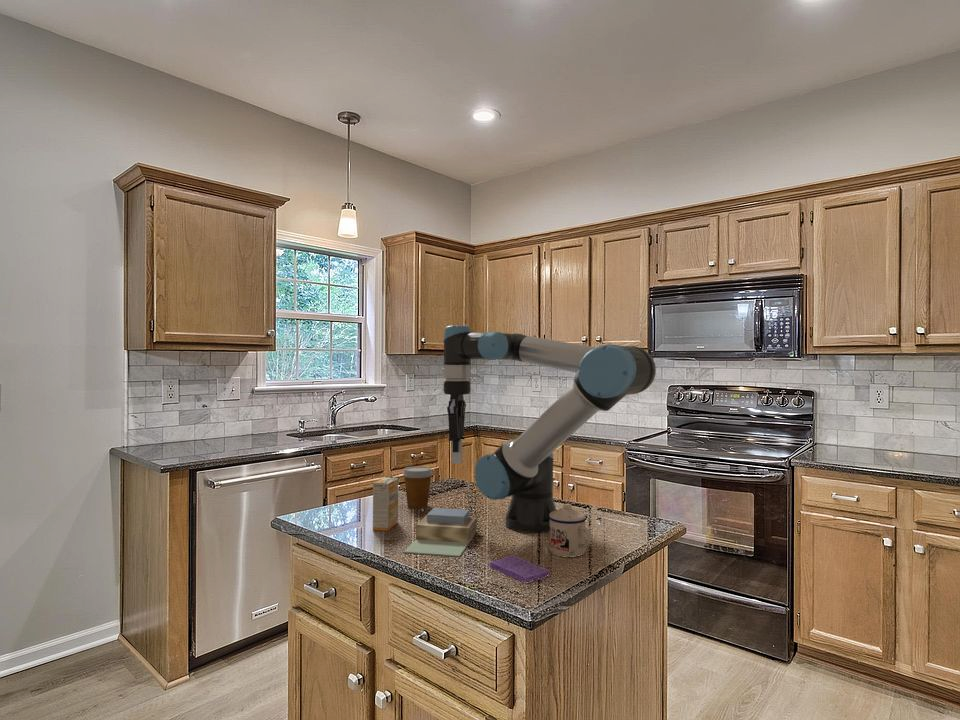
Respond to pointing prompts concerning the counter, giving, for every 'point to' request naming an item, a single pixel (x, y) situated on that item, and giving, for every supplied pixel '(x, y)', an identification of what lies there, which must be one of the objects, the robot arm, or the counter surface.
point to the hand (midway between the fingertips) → (456, 463)
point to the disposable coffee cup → (417, 486)
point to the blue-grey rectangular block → (448, 516)
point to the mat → (437, 548)
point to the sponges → (519, 568)
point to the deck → (446, 531)
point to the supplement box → (385, 503)
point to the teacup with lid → (568, 532)
